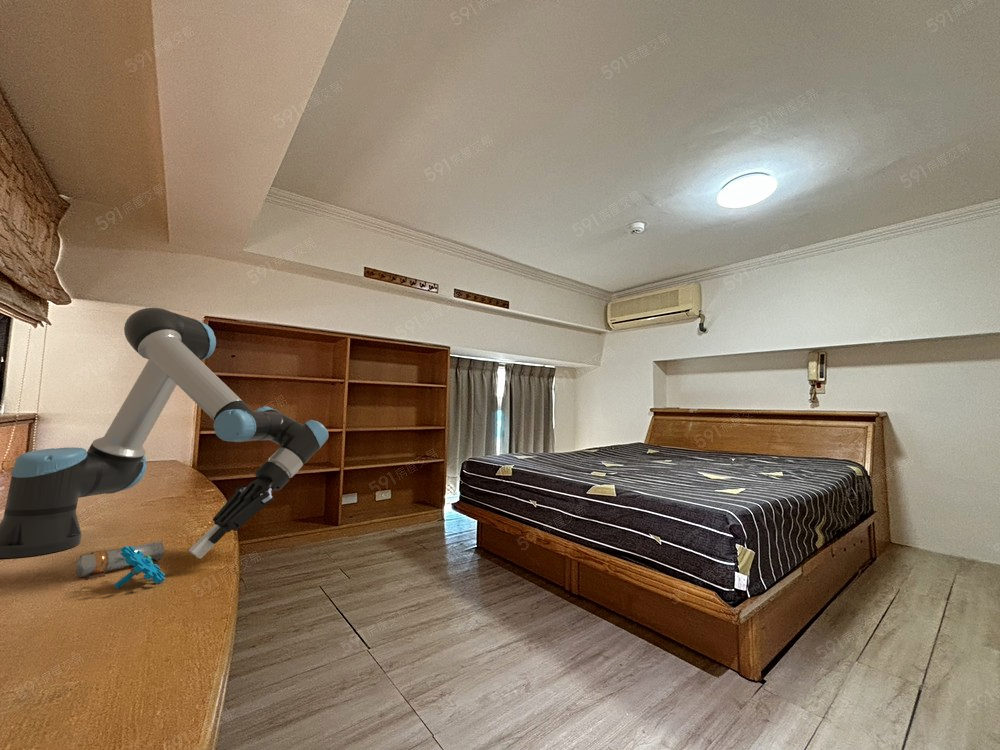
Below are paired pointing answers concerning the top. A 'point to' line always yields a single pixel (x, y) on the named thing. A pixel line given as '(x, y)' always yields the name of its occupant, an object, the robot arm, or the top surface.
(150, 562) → the gear
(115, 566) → the guide pipe
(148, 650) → the top surface
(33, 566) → the top surface
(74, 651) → the top surface
